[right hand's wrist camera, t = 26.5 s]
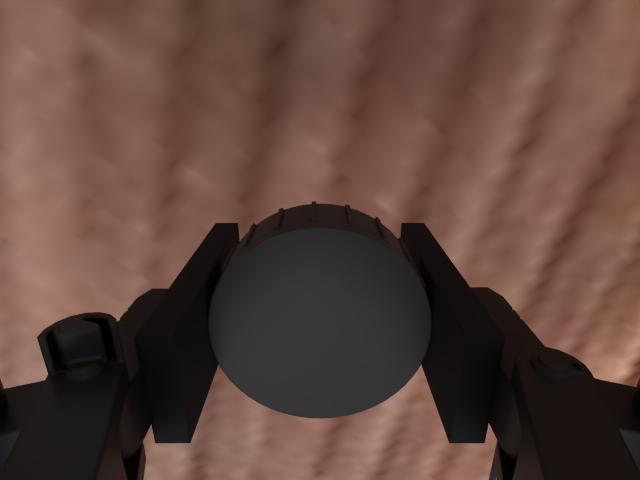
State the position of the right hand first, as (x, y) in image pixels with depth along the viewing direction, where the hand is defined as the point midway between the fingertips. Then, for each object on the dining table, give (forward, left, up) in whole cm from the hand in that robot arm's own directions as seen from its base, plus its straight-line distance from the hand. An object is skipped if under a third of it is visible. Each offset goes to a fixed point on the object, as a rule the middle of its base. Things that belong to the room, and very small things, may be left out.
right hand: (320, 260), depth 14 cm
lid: (0, 0, +4) cm, 4 cm away
